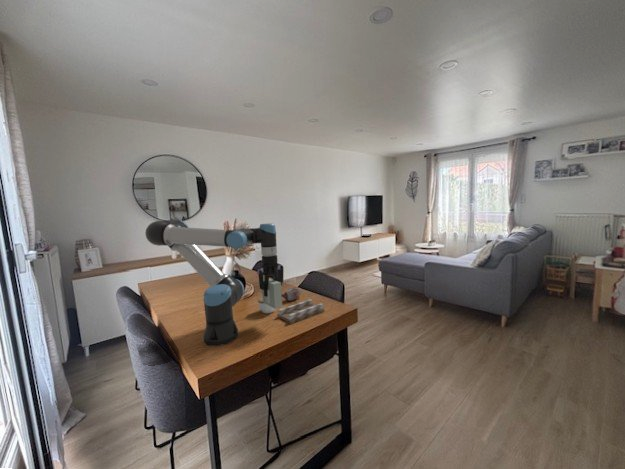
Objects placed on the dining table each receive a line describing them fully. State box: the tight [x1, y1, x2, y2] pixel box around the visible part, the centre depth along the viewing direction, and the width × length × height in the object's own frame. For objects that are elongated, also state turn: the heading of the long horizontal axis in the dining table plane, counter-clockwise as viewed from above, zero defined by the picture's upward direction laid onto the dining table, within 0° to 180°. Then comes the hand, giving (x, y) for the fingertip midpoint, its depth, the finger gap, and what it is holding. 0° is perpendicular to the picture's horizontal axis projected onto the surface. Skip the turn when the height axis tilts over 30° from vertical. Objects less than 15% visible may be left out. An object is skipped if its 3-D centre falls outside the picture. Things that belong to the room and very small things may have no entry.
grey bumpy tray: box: [277, 299, 325, 325], centre depth 141 cm, size 22×13×4 cm, turn 129°
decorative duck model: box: [281, 287, 302, 302], centre depth 166 cm, size 15×8×15 cm
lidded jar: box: [257, 295, 276, 314], centre depth 147 cm, size 11×11×9 cm
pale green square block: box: [261, 277, 283, 310], centre depth 129 cm, size 4×12×12 cm, turn 39°
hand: (272, 301), depth 129 cm, fingers closed on pale green square block, 4 cm apart
